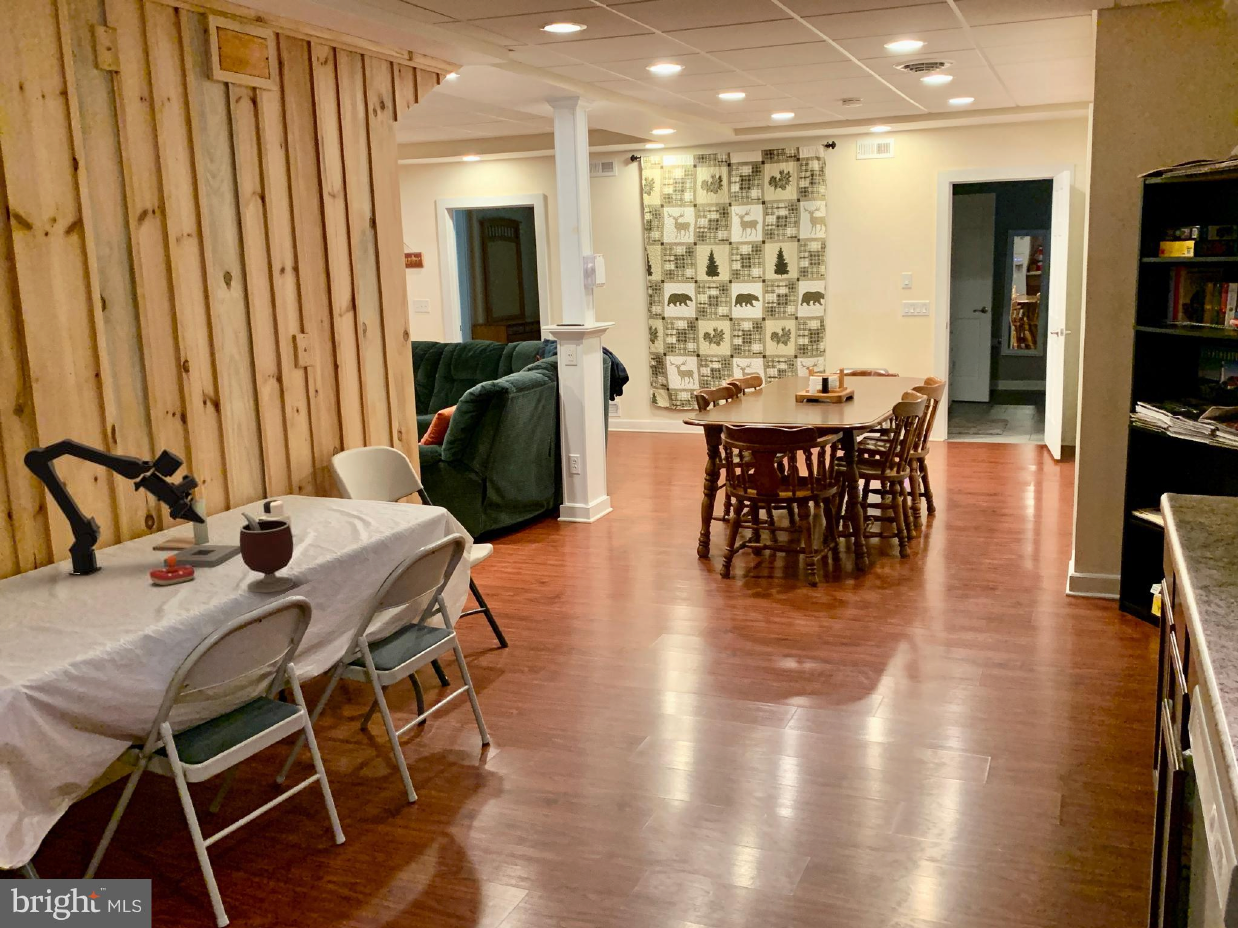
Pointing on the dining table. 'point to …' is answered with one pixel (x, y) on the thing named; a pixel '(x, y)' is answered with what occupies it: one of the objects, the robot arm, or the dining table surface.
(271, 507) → the medicine bottle
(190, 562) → the cover plate
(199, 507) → the key peg
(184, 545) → the copper sheet
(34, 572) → the dining table surface
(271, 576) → the mate gourd
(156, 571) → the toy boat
